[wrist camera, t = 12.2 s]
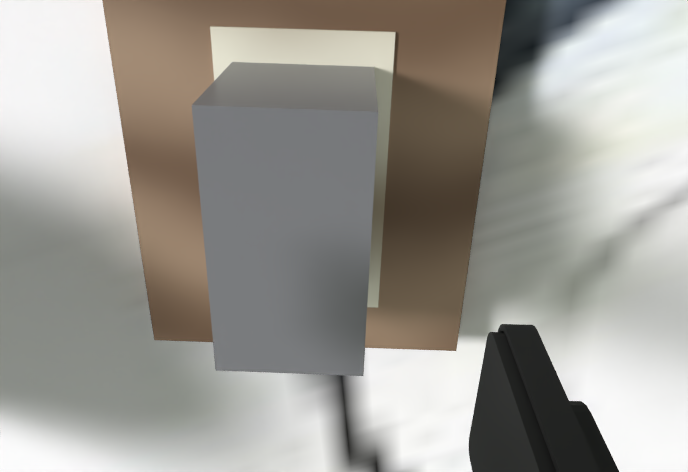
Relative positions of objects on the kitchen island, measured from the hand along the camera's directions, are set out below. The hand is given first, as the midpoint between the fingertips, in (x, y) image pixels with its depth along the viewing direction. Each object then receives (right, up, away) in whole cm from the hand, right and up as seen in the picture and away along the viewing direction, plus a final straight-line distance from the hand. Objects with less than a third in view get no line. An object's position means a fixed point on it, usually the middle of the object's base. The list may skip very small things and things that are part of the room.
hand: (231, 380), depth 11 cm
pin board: (+1, +5, +11) cm, 12 cm away
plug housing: (+1, +4, +10) cm, 10 cm away
